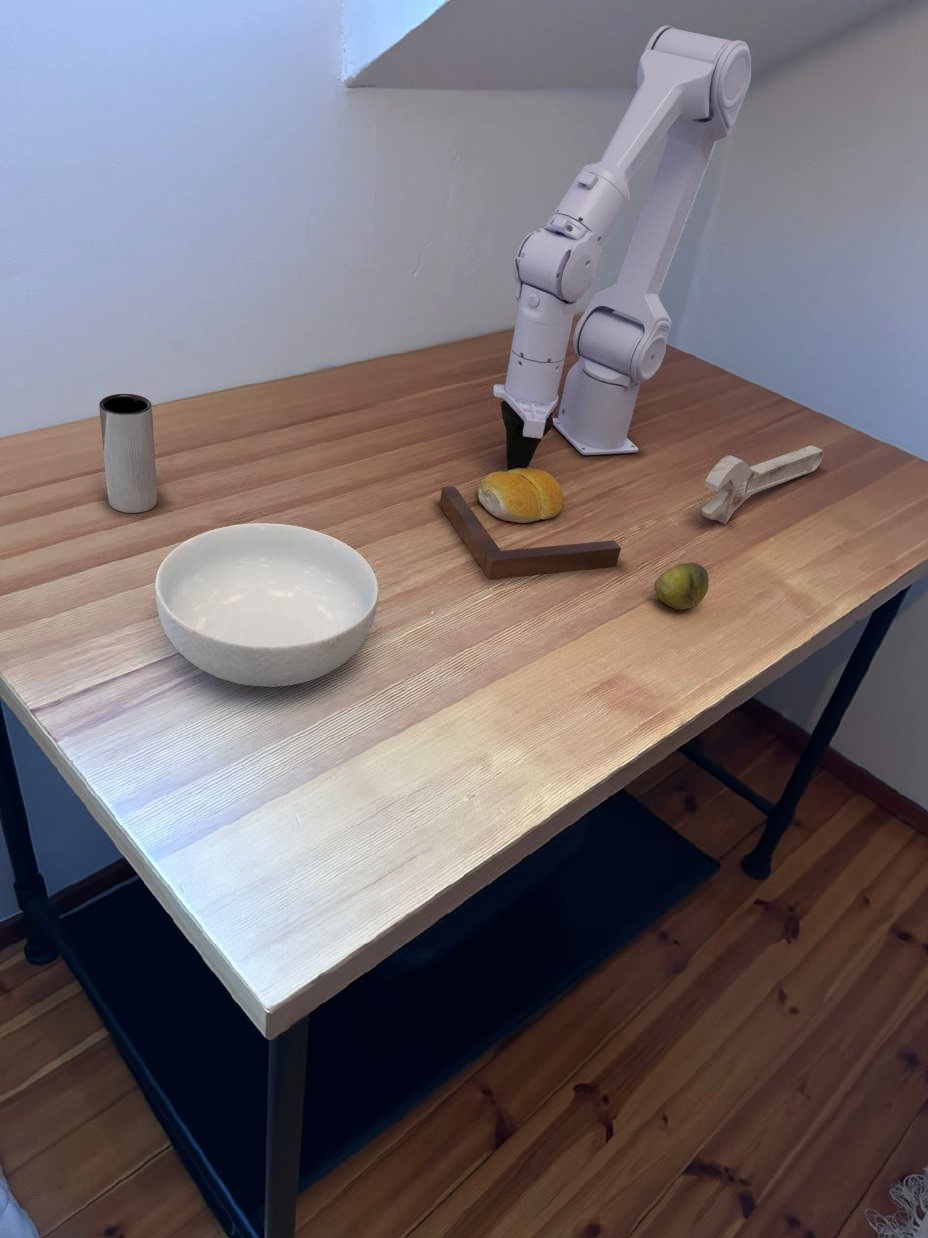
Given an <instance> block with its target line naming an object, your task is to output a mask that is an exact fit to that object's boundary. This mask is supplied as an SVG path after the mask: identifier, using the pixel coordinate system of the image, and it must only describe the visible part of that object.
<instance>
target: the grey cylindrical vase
mask: <svg viewBox="0 0 928 1238" xmlns="http://www.w3.org/2000/svg"><path fill="white" fill-rule="evenodd" d="M98 407H99V409H98V410H99V419H100V430H101V441H102V449H103V450H102V451H103V459H104V460H103V461H104V469H105V480H106V481H105V482H106V490H107V499H108V504H109V506H110V507H111V508H112V509H114V510H116V511H118V512H121V513H127V514H137V513H144V512H147V511H149V510H151V509H153V508H154V507H156V505H157V504H158V484H157V467H156V466H157V465H156V452H155V451H156V450H155V436H154V435H155V433H154V420H153V404H152V402H151V401H150V400H149V399H148V398H147V397H144V396H141V395H139V394H135V393H116V394H110V395H107V396H106V397H103V398H102V399H101V400H100V401H99V404H98Z"/></svg>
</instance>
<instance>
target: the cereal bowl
mask: <svg viewBox="0 0 928 1238" xmlns="http://www.w3.org/2000/svg"><path fill="white" fill-rule="evenodd" d="M154 593H155V602H156V610H157V612H158V619H159V620H160V625H161V627H162V628H163V631H164V633H165V635H166V636H167V638H168V640H169V641H170V643H171V644H172V645H173V647H174V648H175V649H176V650H177V652H178V653H179V654H180V655H182V656H183V657H184V658H185V659H186V660H187V661H189V662H190V663H191V664H192V665H194V666H195V667H197V668H198V669H200V670H201V671H204V672H206V673H207V674H209V675H211V676H214V677H216V678H218V679H222V680H225V681H228V682H232V683H234V684H239V685H244V686H252V687H254V686H255V687H267V688H269V687H275V688H276V687H284V686H285V687H286V686H291V685H292V686H293V685H297V684H302V683H307V682H311V681H313V680H314V679H315V680H316V679H318V678H320V677H321V678H322V677H323V676H325V675H328V674H330V673H331V672H332V671H335V670H336V669H337V668H340V667H341V666H342V665H343V664H345V663H346V662H348V661H349V660H350V658H352V657H353V656H354V655H355V654H356V652H358V651H359V649H360V648H361V646H362V645H363V644H364V643H365V641H366V639H367V637H368V636H369V633H370V630H372V626H373V623H374V621H375V616H376V614H377V609H378V608H377V607H378V604H379V597H380V588H379V582H378V578H377V576H376V574H375V571H374V569H373V568H372V566H371V565H370V562H368V561H367V559H365V557H364V556H363V555H362V554H361V553H359V551H357V550H355V549H354V548H353V547H352V546H350V545H349V544H347V543H345V542H344V541H342V540H340V539H337V538H335V537H333V536H331V535H328V534H326V533H323V532H320V531H317V530H314V529H311V528H307V527H303V526H299V525H292V524H283V523H271V522H270V523H268V522H267V523H266V522H259V523H251V522H250V523H240V524H233V525H228V526H221V527H218V528H214V529H211V530H207V531H205V532H202V533H199V534H197V535H194V536H193V537H191V538H188V539H187V540H185V541H184V542H182V543H181V544H179V545H177V546H176V547H175V548H174V549H173V550H171V552H169V553H168V554H167V555H166V557H165V558H164V559H163V561H162V562H161V563H160V565H159V567H158V569H157V572H156V576H155V580H154Z"/></svg>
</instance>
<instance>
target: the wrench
mask: <svg viewBox="0 0 928 1238" xmlns="http://www.w3.org/2000/svg"><path fill="white" fill-rule="evenodd" d="M824 455H825V451H824V449H821V448H819V447H816V446H814V445H808V446H805V447H802V448H800V449H796V450H794V451H791V452H789V453H788V452H787V453H786V454H783V455H779V456H777V457H774V458H771V459H768V460H766V461H762V462H760V463H758V464H755V465H752V466H749V465H748V464H747V463H746V462H745V460H742V459H741V458H738V457H735V456H733V455H726V456H723V457H722V458H721V459H720V460H719V461H718V462H717V463H715V465H714V466H713V467H712V469H711V470H710V471H709V473H708V474H707V477H706V478H705V480H704V484H703V486H704V487H706V488H708V489H711V490H712V491H714V492H717V494H716V497H713V498H712V499H710V500H709V501H707V503H706V504H705V505H704V506H703V507H702V508H701V515H702V516H703V517H704V518H707V519H708V520H711V521H718V522H720V523H722V524H723V525H726V524H727V523H728V521H729V519H731V516H732V515H733V514H734V513H735V511H737V509H738V508H739V507H740V506H741V505H742V504H743V503H744V502H745V501H746V500H747V499H748V498H750V497H751V496H752V495H754V494H756V493H758V492H761V491H765V490H766V489H769V488H772V487H775V486H777V485H780V484H783V483H786V482H789V481H790V480H794V479H796V478H799V477H801V476H802V477H803V476H805V475H807V474H810V473H813V472H816V470H817V469H818V467H819V466H820V464H821V463H822V461H823V458H824Z"/></svg>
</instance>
